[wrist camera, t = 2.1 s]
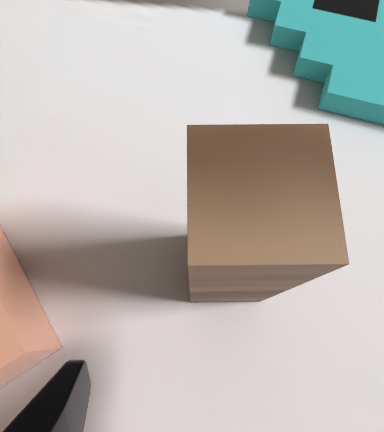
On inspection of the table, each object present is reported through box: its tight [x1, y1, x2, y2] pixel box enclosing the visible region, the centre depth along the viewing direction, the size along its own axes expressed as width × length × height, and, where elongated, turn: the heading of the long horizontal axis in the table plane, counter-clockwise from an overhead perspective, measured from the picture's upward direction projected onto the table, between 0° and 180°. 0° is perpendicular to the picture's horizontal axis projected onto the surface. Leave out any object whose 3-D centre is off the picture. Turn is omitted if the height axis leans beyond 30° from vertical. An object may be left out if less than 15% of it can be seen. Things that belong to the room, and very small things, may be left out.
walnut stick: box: [187, 124, 349, 302], centre depth 15 cm, size 4×4×12 cm
